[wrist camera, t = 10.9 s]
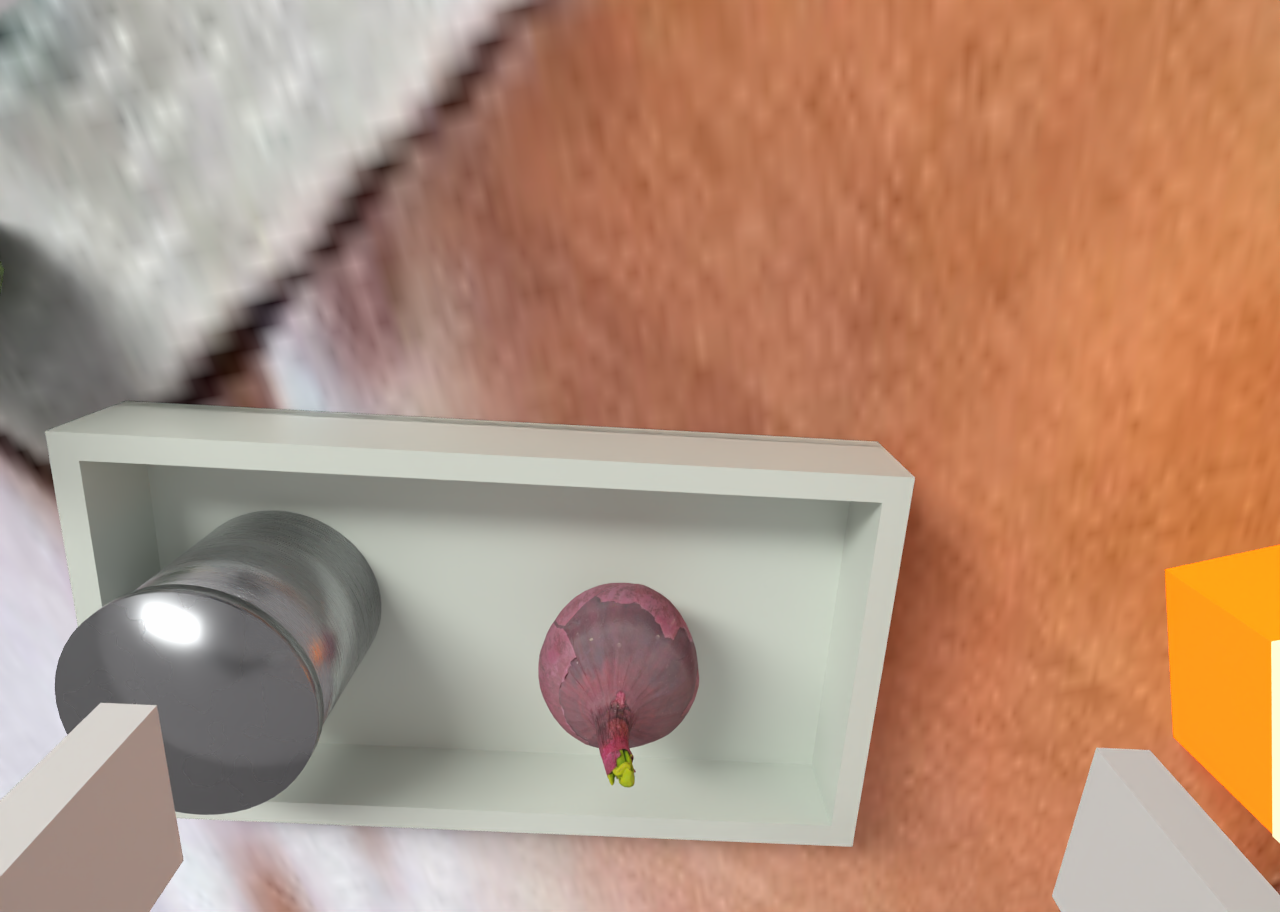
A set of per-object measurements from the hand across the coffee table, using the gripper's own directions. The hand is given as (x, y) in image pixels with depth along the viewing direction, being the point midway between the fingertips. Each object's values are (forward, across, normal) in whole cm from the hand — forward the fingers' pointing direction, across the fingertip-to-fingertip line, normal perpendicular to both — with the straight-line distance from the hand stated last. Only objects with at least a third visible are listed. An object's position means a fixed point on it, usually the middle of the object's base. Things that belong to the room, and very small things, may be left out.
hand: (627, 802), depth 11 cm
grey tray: (+21, -5, -9) cm, 23 cm away
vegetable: (+20, 0, -9) cm, 22 cm away
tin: (+20, -14, -9) cm, 26 cm away
